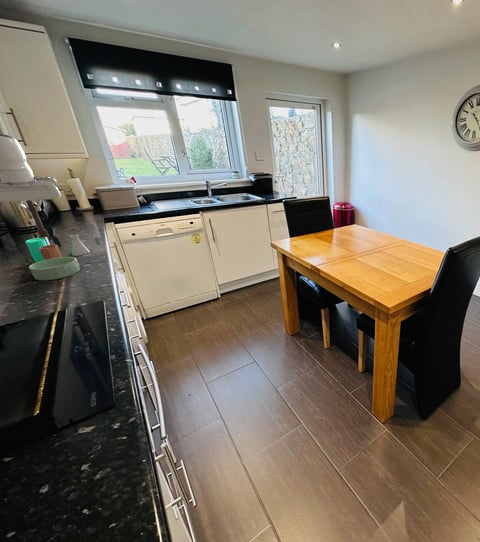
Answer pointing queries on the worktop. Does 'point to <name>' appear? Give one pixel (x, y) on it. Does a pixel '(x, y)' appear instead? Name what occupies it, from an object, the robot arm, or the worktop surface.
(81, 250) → the flask
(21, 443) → the worktop surface
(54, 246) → the utensil pot
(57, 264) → the mixing bowl
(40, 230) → the stirring stick
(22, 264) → the worktop surface
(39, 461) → the worktop surface
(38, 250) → the candle
